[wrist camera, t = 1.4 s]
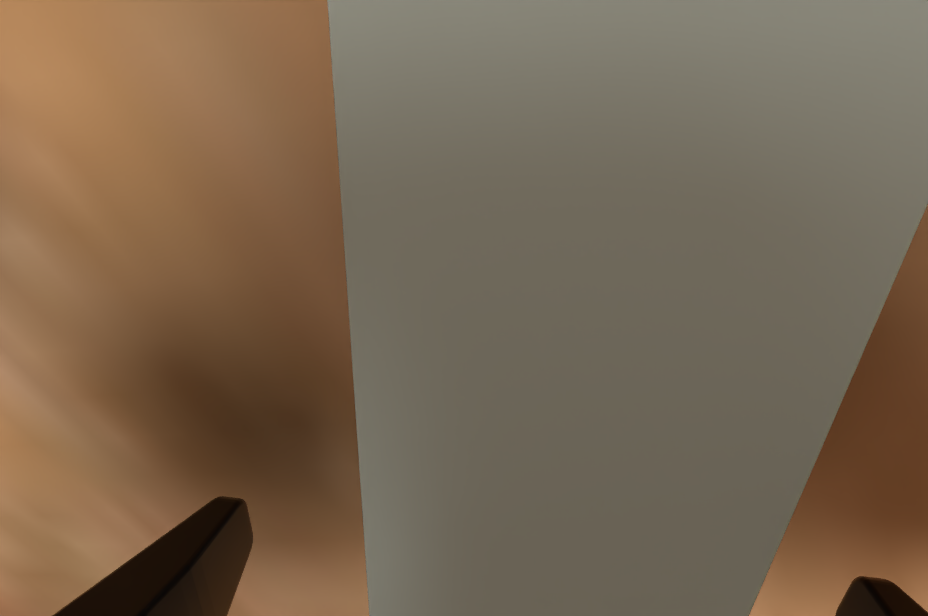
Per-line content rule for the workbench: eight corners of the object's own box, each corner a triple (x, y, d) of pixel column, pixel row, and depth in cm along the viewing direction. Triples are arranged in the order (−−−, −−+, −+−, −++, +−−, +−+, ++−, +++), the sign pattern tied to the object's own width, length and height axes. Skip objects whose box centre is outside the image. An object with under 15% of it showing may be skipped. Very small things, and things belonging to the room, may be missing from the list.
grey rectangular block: (610, 568, 13) (643, 856, 9) (436, 546, 13) (382, 811, 9) (759, -58, 7) (1079, -148, 3) (446, -67, 8) (317, -158, 3)
